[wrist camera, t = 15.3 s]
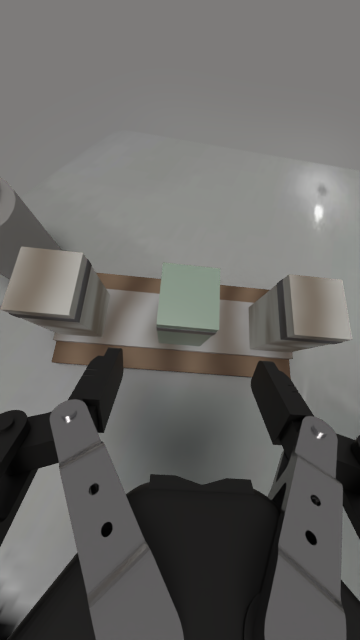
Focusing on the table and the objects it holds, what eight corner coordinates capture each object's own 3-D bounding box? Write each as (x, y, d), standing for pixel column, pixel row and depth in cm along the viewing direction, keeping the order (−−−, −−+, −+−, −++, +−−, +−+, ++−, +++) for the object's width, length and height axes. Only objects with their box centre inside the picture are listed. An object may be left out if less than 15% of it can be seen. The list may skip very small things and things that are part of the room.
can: (-4, 276, 27) (-125, 203, 16) (29, 233, 29) (-57, 141, 18) (47, 297, 27) (-39, 239, 16) (76, 253, 29) (20, 172, 18)
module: (201, 303, 26) (220, 268, 18) (199, 346, 25) (219, 330, 16) (162, 300, 26) (162, 261, 17) (158, 343, 25) (155, 324, 16)
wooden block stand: (278, 294, 30) (342, 249, 19) (284, 379, 27) (365, 380, 16) (77, 274, 28) (25, 213, 18) (56, 362, 25) (-22, 352, 14)
